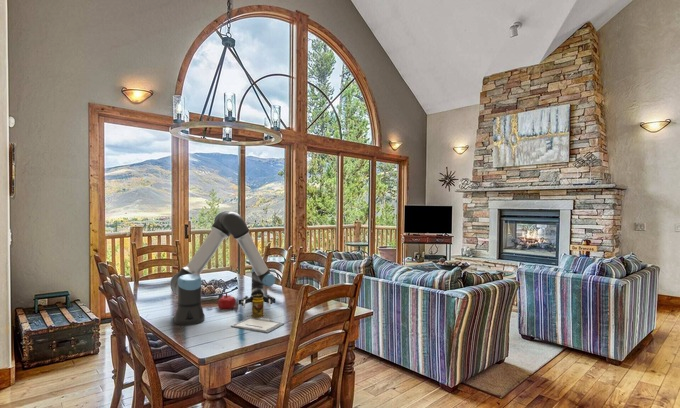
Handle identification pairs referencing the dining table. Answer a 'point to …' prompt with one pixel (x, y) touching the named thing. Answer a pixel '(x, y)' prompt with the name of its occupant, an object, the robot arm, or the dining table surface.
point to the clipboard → (258, 325)
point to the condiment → (257, 306)
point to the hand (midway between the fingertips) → (256, 305)
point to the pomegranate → (226, 302)
